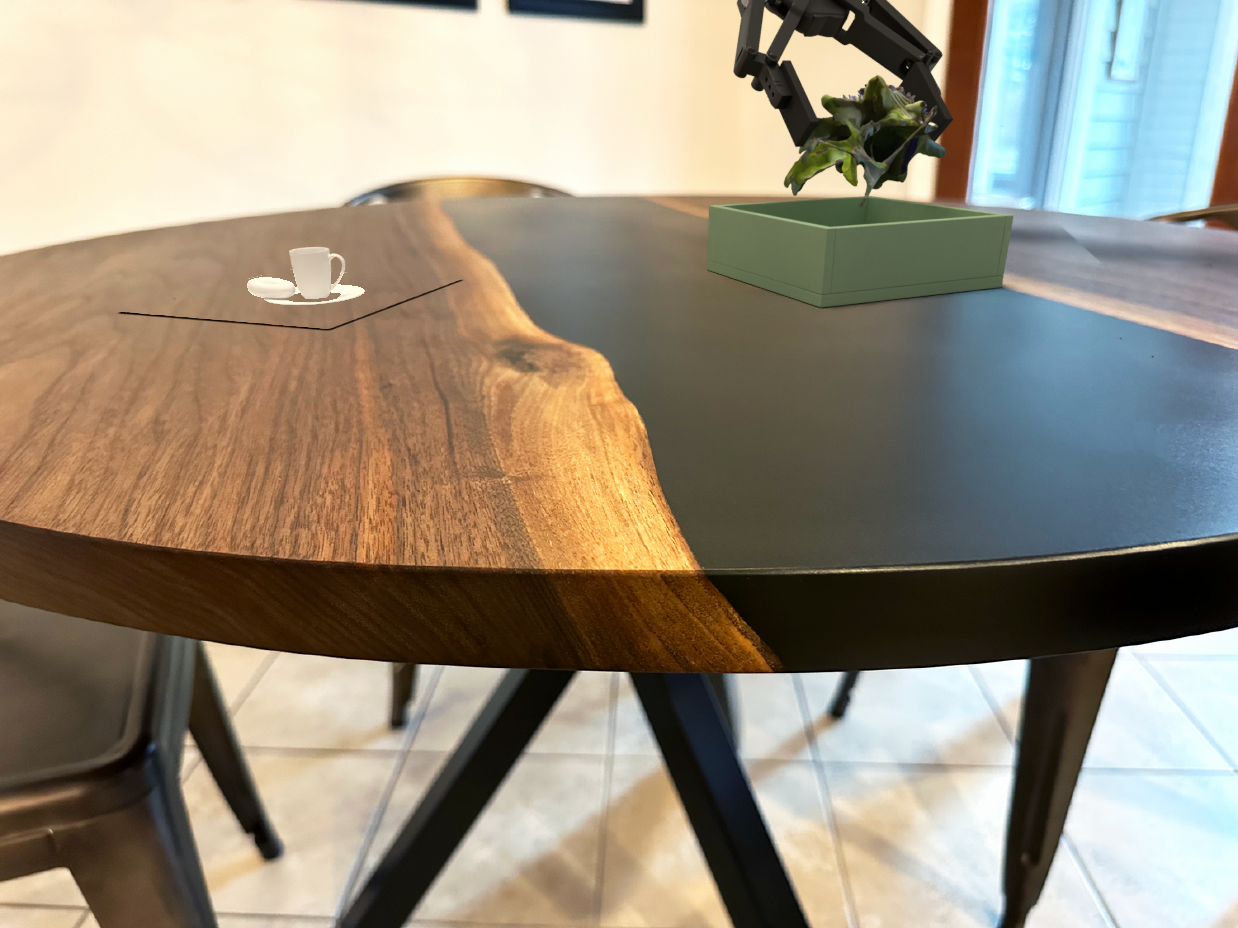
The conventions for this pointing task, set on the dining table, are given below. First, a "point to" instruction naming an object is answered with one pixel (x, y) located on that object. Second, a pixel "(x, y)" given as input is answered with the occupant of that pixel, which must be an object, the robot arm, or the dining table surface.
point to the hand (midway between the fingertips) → (876, 133)
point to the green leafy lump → (867, 137)
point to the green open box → (858, 248)
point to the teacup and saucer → (305, 280)
